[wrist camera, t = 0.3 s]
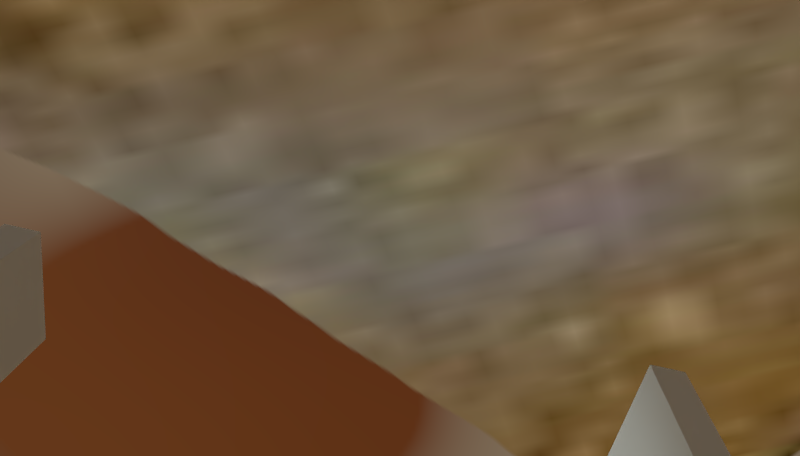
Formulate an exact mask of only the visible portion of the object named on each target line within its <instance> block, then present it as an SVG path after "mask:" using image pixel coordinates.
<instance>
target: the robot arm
mask: <svg viewBox="0 0 800 456" xmlns="http://www.w3.org/2000/svg"><path fill="white" fill-rule="evenodd" d="M45 339H46V337H45V316H44V294H43V273H42V253H41V233H40V232H39V231H34V230H29V229H25V228H20V227H16V226H11V225H6V224H4V225H2V226H1V227H0V382H1V381H2V380H3V379H5V378H6V376H7V375H9V374H10V373H11V372H12V371H13V370H14V369H15V368H16V367H17V366H18V365H19V364H20V363H21V362H22V361H23V360H24V359H25V358H26V357H27V356H28V355H29V354H30V353H31V352H33V351H34V350H35V348H37V347H38V346H39V345H40V344H41V343H42V342H43V341H44V340H45ZM608 456H731V455H730V453H729V452H728V450H727V448H726V446H725V444H724V442H723V441H722V439H721V437H720V435H719V433H718V431H717V430H716V428H715V426H714V424H713V422H712V420H711V419H710V417H709V415H708V413H707V411H706V409H705V408H704V406H703V404H702V402H701V400H700V398H699V397H698V395H697V393H696V391H695V389H694V387H693V386H692V384H691V382H690V380H689V378H688V376H687V375H686V373H685V372H681V371H677V370H672V369H668V368H663V367H658V366H654V365H650V366H649V368H648V370H647V373H646V375H645V377H644V379H643V381H642V383H641V386H640V388H639V390H638V392H637V394H636V396H635V398H634V401H633V403H632V405H631V407H630V409H629V411H628V413H627V416H626V418H625V420H624V422H623V424H622V426H621V428H620V431H619V433H618V435H617V437H616V439H615V441H614V443H613V446H612V448H611V450H610V452H609V454H608Z"/></svg>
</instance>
